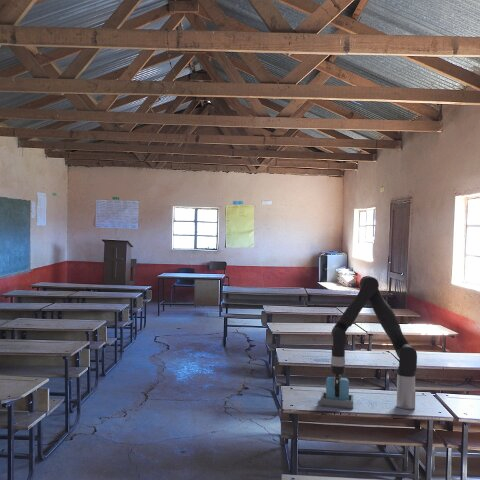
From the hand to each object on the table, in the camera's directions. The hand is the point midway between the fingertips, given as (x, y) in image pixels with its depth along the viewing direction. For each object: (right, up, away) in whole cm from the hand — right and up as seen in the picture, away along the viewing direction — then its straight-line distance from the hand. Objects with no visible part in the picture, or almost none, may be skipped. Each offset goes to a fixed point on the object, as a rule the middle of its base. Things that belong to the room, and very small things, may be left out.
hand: (337, 395), depth 272 cm
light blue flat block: (0, -3, 0) cm, 3 cm away
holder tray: (0, -5, 0) cm, 5 cm away
